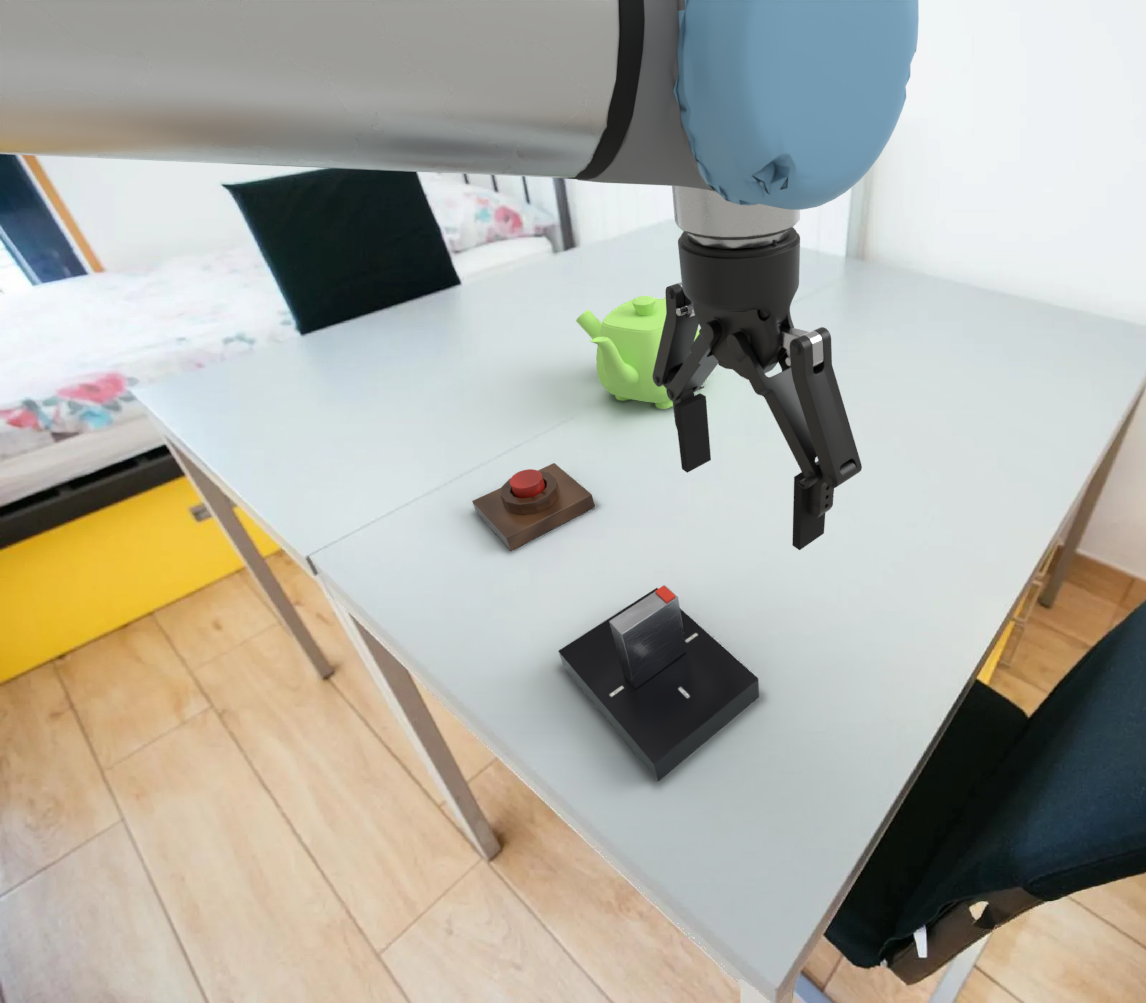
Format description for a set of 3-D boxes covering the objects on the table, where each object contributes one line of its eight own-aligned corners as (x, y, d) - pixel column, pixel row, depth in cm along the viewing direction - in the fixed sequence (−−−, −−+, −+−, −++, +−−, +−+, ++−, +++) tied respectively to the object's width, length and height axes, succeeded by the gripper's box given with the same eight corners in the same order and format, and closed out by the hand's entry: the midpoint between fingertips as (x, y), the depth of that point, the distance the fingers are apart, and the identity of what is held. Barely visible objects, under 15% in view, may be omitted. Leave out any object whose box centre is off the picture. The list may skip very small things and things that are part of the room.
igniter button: (522, 503, 78) (518, 492, 77) (507, 489, 80) (504, 478, 79) (550, 489, 80) (547, 478, 79) (535, 475, 82) (532, 465, 81)
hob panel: (658, 781, 53) (653, 763, 51) (564, 669, 63) (557, 649, 61) (759, 697, 60) (758, 677, 58) (660, 605, 69) (656, 586, 67)
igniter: (511, 551, 76) (502, 527, 74) (476, 513, 82) (467, 490, 79) (595, 507, 82) (589, 483, 80) (557, 475, 88) (551, 452, 86)
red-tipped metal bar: (635, 689, 57) (621, 632, 52) (623, 676, 58) (608, 619, 53) (686, 652, 60) (678, 595, 55) (674, 640, 61) (664, 583, 56)
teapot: (622, 350, 118) (607, 266, 108) (724, 368, 112) (719, 280, 102) (540, 415, 101) (514, 322, 91) (655, 441, 94) (641, 344, 84)
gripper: (950, 260, 32) (899, 552, 46) (665, 185, 47) (690, 424, 60) (858, 300, 28) (831, 606, 42) (578, 204, 43) (625, 455, 56)
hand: (748, 499), depth 51 cm, fingers open, 13 cm apart
